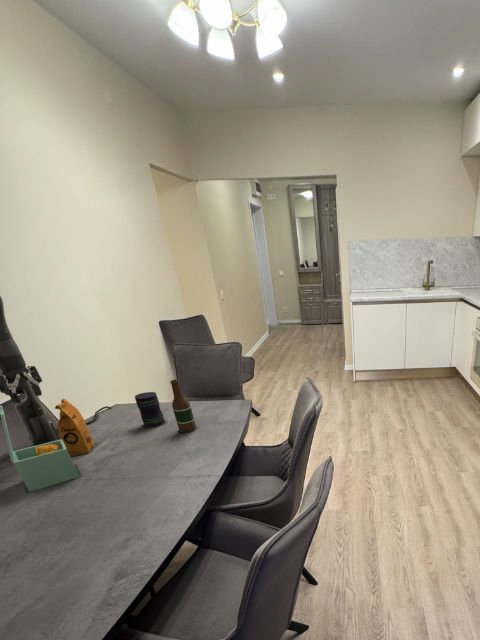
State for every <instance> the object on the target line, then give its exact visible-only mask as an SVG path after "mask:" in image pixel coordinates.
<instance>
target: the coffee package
mask: <svg viewBox="0 0 480 640" xmlns="http://www.w3.org/2000/svg"><path fill="white" fill-rule="evenodd" d="M54 409H55V410H59V419H58V422H57V428H58V433H59V435H58V436H59V438H60V440H61V439H62V440H63V442H64V444H65V447H66V449H67V451H68V453H69V455H70V457H72V456H79V455H85V454H89V453H90V452H91V451H92V449H93V448H94V449H95V442H94V439H93V438H92V435H91V433H90V430H89V427H88V424H87V425H86V421H85V419H84V417H83V416H82V414H81V412H80V410H79V409H78V408H77V407H76V406H75V405H73V404H72V403H71V402H69V401H68V400H67V399H66V398H62V399H61V401H60V403H59V404H57V405H55V407H54Z"/></svg>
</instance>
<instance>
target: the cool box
mask: <svg viewBox="0 0 480 640" xmlns="http://www.w3.org/2000/svg"><path fill="white" fill-rule="evenodd" d="M48 444H50V445H51V444H53V445H56V446H58V449H59V450H58V451H54V452H50V453H46V454H42V455H39V456H36V455H37V452H36V450H35V447H39V446H42V445H43V446H45V445H46V446H47V445H48ZM12 451H13V457H14V462H12V463H13V465H14V467H15V468H16V470H17V472H18V474H19V476H20V477H21V480H22V481H23V483H24V485H25V487H26V489H27V490H28V492H29V493H30V492H34V491H38V490H40V489H41V490H42V489H44V488H47V487H50V486H54V485H57V484H60V483H64V482H67V481H70V480H74V479H77V478H80V475H79V472H78V471H77V468H76V466H75V464H74V461H73V460H72V456H71V455H69V453H68V451H67V449H66V447H65V444H64V442H63V440H62V439H61V438H60V440H57V441H53V442H49V443H45V444H41V445H37V446H34V445H33V446H29V447H25V448H21V449H17V450H12Z"/></svg>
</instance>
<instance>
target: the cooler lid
mask: <svg viewBox="0 0 480 640" xmlns="http://www.w3.org/2000/svg"><path fill="white" fill-rule="evenodd" d="M0 420H1V423H2V428H3V432H4V436H5V441H6V445H7V449H8V450H7V451H8V454H9V458H10V462H12V463H13V462H14V457H13V451H14V450H13V447H12V443H11V437H10V433H9V429H8V424H7V420H6V416H5V411H4V407H3V405H0Z"/></svg>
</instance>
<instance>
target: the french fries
mask: <svg viewBox="0 0 480 640" xmlns="http://www.w3.org/2000/svg"><path fill="white" fill-rule="evenodd" d="M35 450H36V452H37V455H36V456H39V455H42V454H46V453H50V452H54V451H58V450H59V449H58V446H56V445H53V444H51V445H50V444H48V445H47V446H46V445H45V446H43V445H42V446H39V447H35Z"/></svg>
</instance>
